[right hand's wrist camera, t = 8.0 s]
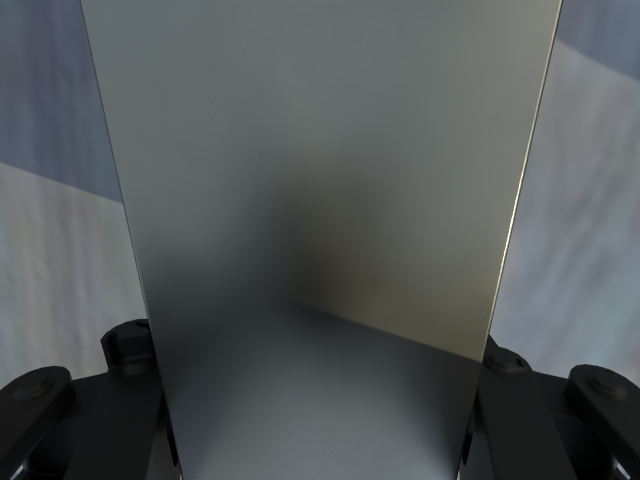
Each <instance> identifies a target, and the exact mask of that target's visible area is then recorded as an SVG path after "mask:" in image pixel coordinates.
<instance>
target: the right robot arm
mask: <svg viewBox="0 0 640 480" xmlns="http://www.w3.org/2000/svg"><path fill="white" fill-rule="evenodd" d="M101 344H102V348H103V351H104V355H105V358H106V362H107V365H108V371H107V372H106V373H103V374H99V375H94V376H90V377H85V378H81V379H76V380H72V378H71V375H70V372H69V371H68V370H67V369H66V368H65V367H60V366H50V367H43V368H39V369H36V370H33V371H30V372H28V373H26V374H24V375H22V376H20V377H18V378H16V379H14V380H13V381H12V382H10V383H9V384H8V385H6V386H5V387H4V388H3V389H1V390H0V480H10V478H11V477H12V476H13V475H14V473H15V472H16V471H17V470H18V468H19V467H20V466H21V465H23V467H24V468H23V469H22V471H21V472H20V473H19V475H18V476H17V477H16V478H14V479H13V480H180V474H181V471H180V467H179V462H178V457H177V453H176V448H175V443H174V439H173V434H172V429H171V425H170V420H169V415H168V411H167V406H166V401H165V397H164V392H163V387H162V383H161V378H160V373H159V369H158V364H157V359H156V355H155V350H154V345H153V341H152V336H151V331H150V326H149V322H148V319H137V320H132V321H128V322H125V323H123V324H120V325H118V326H116V327H114V328H113V329H111V330H110V331H108V332H107V333H106V334H105V335H104V336H103V337H102V339H101ZM618 462H619V464H620V465H621V466H622V467H623V469H624V470H625V471H626V472H627V474H628V475H629V476H630V477H631V478H630V479H629V480H640V388H639V387H637V386H636V385H635V384H633V383H632V382H631V381H629V380H628V379H627V378H625V377H623V376H621V375H620V374H618V373H616V372H614V371H612V370H609V369H606V368H603V367H599V366H594V365H587V364H584V365H576V366H575V367H574V368H572V369H571V371H570V374H569V377H568V379H566V378H561V377H557V376H552V375H548V374H543V373H539V372H535V371H532V368H531V367H530V365H529V364H528V363H527V361H526V360H525V359H523V358H522V357H521V356H519V355H518V354H516V353H514V352H512V351H510V350H508V349H505V348H502V347H498V345H497V344H496V343H495V341H494V340H493V339H492V337H491V336H490V334H489V336H488V341H487V345H486V350H485V354H484V359H483V363H482V368H481V372H480V377H479V381H478V386H477V390H476V395H475V399H474V404H473V408H472V413H471V417H470V422H469V426H468V431H467V435H466V440H465V444H464V449H463V453H462V458H461V462H460V467H459V473H460V480H628V479H627V478H626V477H625V476H624V475H623V474H622V473H621V471H620V470H619V469H618V468H617V464H618Z"/></svg>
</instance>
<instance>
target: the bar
mask: <svg viewBox="0 0 640 480" xmlns="http://www.w3.org/2000/svg"><path fill="white" fill-rule="evenodd" d="M80 4H81V9H82V13H83V18H84V23H85V27H86V32H87V37H88V41H89V46H90V51H91V56H92V60H93V65H94V70H95V74H96V79H97V84H98V88H99V93H100V98H101V102H102V107H103V112H104V116H105V121H106V126H107V130H108V135H109V140H110V144H111V149H112V154H113V158H114V163H115V168H116V172H117V177H118V182H119V186H120V191H121V196H122V200H123V205H124V210H125V214H126V219H127V224H128V228H129V233H130V238H131V242H132V247H133V252H134V256H135V261H136V266H137V270H138V275H139V280H140V284H141V289H142V294H143V298H144V303H145V308H146V312H147V317H148V322H149V326H150V331H151V336H152V341H153V345H154V350H155V355H156V359H157V364H158V369H159V373H160V378H161V383H162V387H163V392H164V397H165V401H166V406H167V411H168V415H169V420H170V425H171V429H172V434H173V439H174V443H175V448H176V453H177V457H178V462H179V467H180V471H181V476H182V480H457V476H458V471H459V467H460V462H461V458H462V453H463V449H464V444H465V440H466V435H467V431H468V426H469V422H470V417H471V413H472V408H473V404H474V399H475V395H476V390H477V386H478V381H479V377H480V372H481V368H482V363H483V359H484V354H485V350H486V345H487V341H488V336H489V332H490V327H491V323H492V318H493V314H494V309H495V305H496V300H497V296H498V291H499V287H500V282H501V278H502V273H503V269H504V264H505V260H506V255H507V251H508V246H509V242H510V237H511V233H512V228H513V224H514V219H515V215H516V211H517V206H518V202H519V197H520V193H521V188H522V184H523V179H524V175H525V170H526V166H527V161H528V157H529V152H530V148H531V143H532V139H533V134H534V130H535V125H536V121H537V116H538V112H539V107H540V103H541V98H542V94H543V89H544V85H545V80H546V76H547V71H548V67H549V62H550V58H551V53H552V49H553V44H554V40H555V35H556V31H557V26H558V22H559V17H560V13H561V8H562V4H563V0H80Z"/></svg>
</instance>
